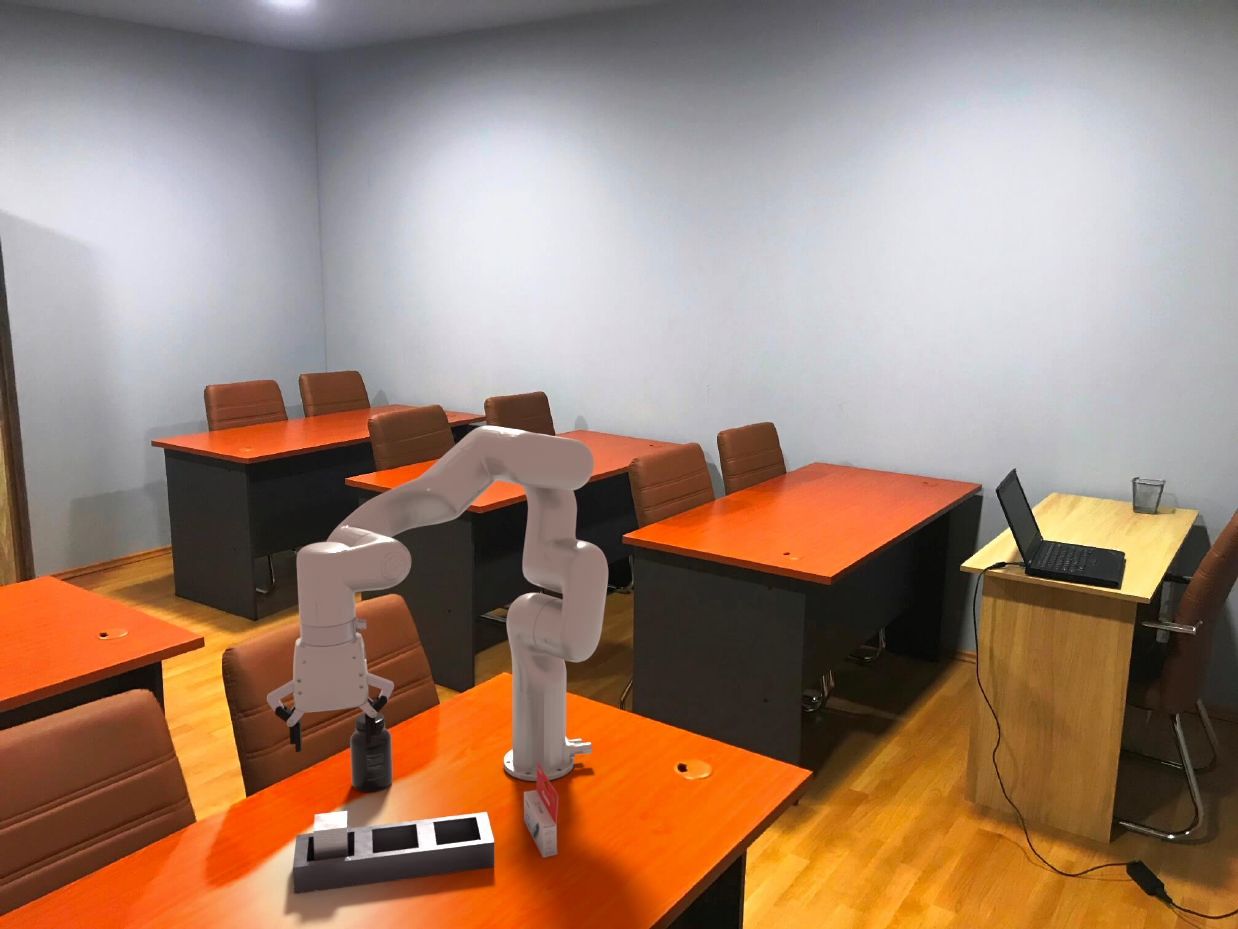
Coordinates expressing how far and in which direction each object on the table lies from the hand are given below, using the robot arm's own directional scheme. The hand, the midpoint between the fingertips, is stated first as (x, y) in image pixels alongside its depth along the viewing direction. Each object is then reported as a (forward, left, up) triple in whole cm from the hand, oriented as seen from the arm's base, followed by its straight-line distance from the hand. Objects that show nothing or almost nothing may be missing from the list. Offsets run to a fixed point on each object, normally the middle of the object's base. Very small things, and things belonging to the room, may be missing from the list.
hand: (333, 744), depth 137 cm
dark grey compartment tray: (-8, +2, -19) cm, 21 cm away
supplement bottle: (-5, -23, -19) cm, 31 cm away
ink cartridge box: (-30, 0, -19) cm, 36 cm away
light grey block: (+1, +2, -19) cm, 19 cm away
